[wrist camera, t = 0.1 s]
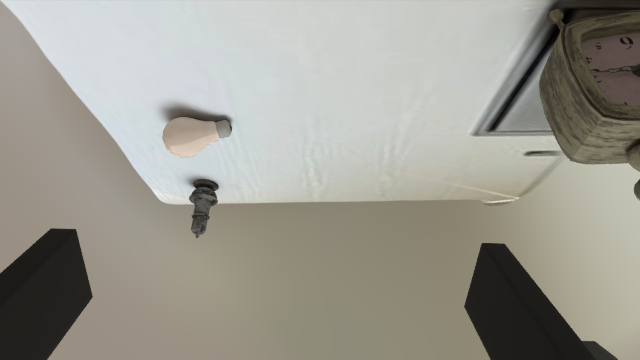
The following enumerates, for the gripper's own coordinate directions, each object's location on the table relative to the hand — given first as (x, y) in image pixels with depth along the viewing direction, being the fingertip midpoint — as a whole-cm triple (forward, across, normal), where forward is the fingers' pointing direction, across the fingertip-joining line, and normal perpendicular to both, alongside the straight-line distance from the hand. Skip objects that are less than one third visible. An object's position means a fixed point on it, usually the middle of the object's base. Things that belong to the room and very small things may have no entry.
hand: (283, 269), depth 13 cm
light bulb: (+52, -17, -11) cm, 56 cm away
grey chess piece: (+66, -20, -29) cm, 75 cm away
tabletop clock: (+39, +35, +7) cm, 53 cm away
